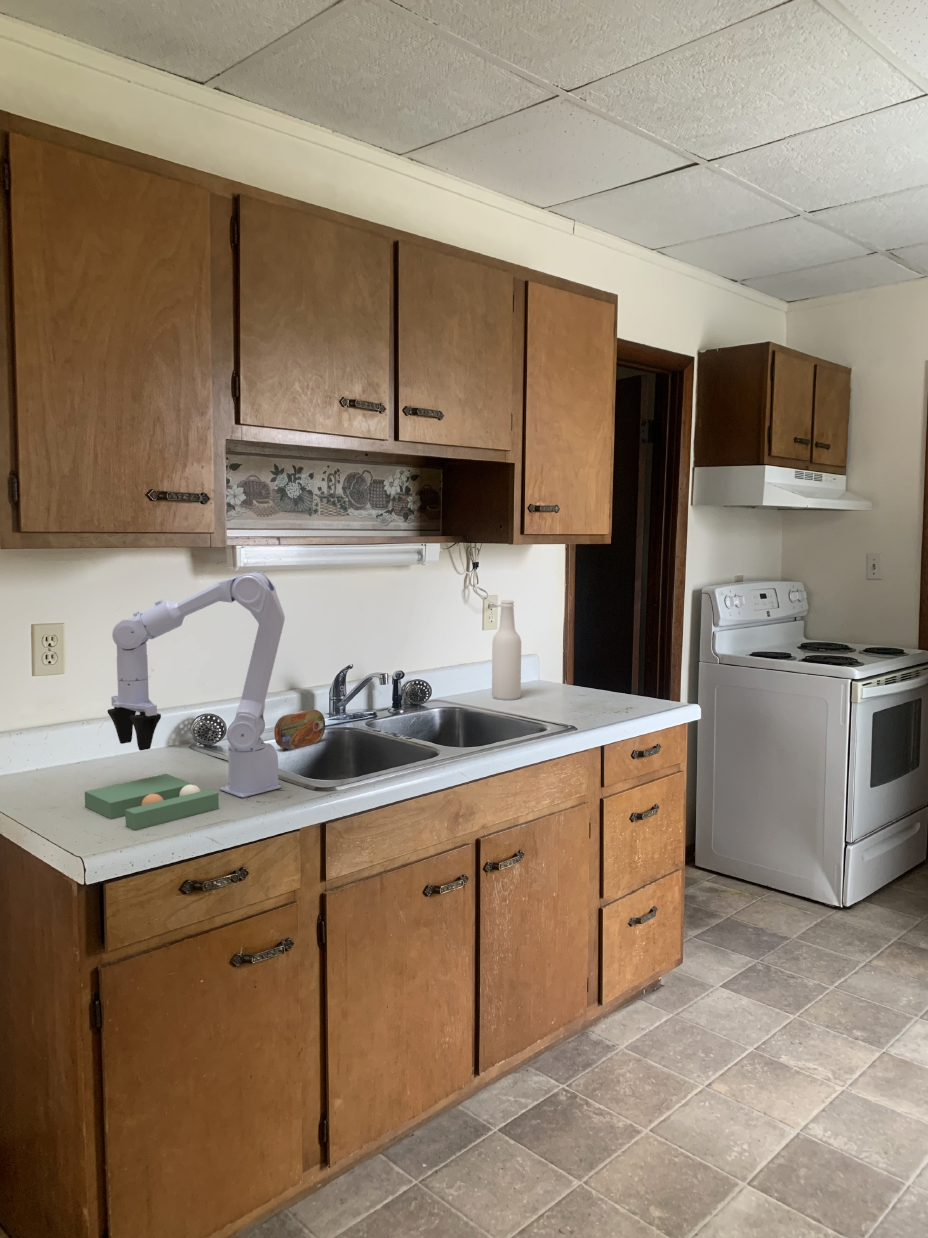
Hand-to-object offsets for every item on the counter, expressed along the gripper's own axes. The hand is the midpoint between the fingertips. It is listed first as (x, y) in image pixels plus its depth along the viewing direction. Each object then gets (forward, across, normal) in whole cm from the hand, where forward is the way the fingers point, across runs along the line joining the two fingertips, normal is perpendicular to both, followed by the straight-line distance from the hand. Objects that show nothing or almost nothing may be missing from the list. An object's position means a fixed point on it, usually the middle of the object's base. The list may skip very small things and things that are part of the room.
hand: (135, 746), depth 185 cm
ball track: (+9, +11, -3) cm, 15 cm away
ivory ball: (+7, +15, +3) cm, 17 cm away
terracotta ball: (+7, +16, -5) cm, 18 cm away
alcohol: (+10, -10, +127) cm, 128 cm away
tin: (+10, -7, +46) cm, 48 cm away
